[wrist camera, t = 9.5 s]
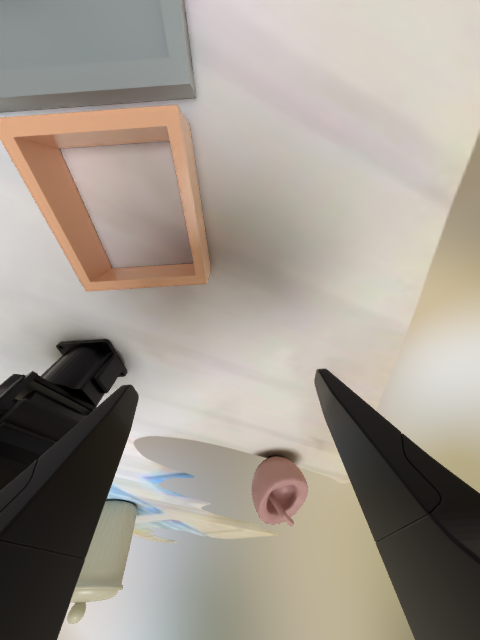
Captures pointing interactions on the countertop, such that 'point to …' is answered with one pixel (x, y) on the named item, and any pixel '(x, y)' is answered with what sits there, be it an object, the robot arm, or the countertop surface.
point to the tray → (92, 53)
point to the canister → (104, 558)
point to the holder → (67, 206)
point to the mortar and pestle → (278, 490)
